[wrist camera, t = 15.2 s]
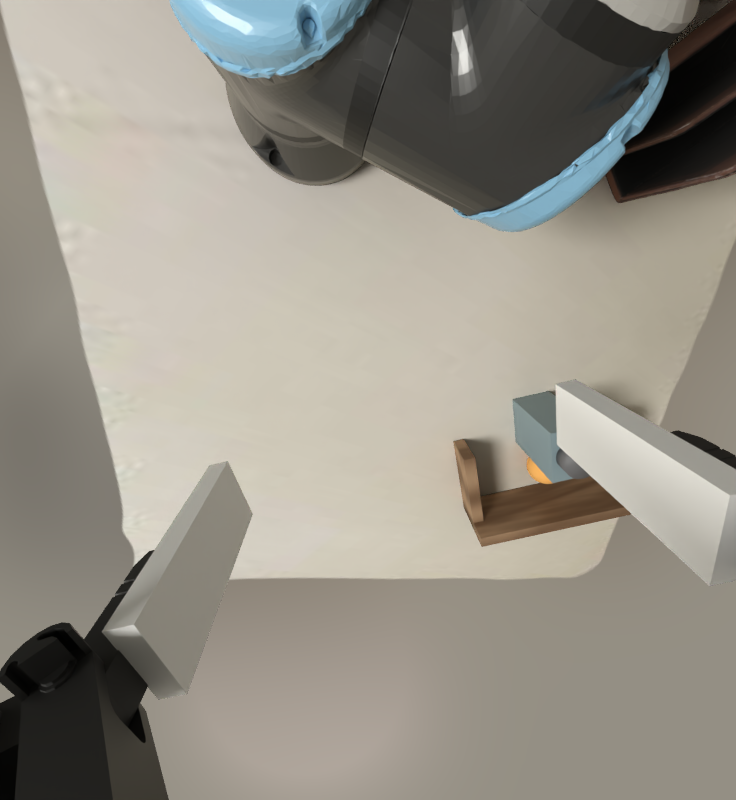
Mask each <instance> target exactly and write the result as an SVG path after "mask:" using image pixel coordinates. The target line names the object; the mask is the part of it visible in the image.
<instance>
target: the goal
mask: <svg viewBox="0 0 736 800" xmlns="http://www.w3.org/2000/svg"><path fill="white" fill-rule="evenodd" d="M454 448H455V454H456V460H457V466H458V473H459V479H460V485H461V492H462V498H463V504H464V509H465V511H466V513H467V515H468V517H469V520H470V522H471V524H472V526H473V529H474V531H475V533H476V535H477V537H478V540H479V542H480V544H481V546H482V547H483V546H487V545H492V544H497V543H501V542H506V541H511V540H515V539H520V538H524V537H529V536H534V535H538V534H543V533H547V532H552V531H557V530H561V529H566V528H570V527H575V526H580V525H584V524H589V523H593V522H598V521H603V520H607V519H612V518H616V517H621V516H625V515H630V514H631V513H630V512H629V511H628V510H627V509H626V508H625V507H624V506H623V505H621V504H620V503H619V502H618V501H617V500H616V499H615V498H614V497H613V496H612V495H611V494H610V493H609V492H607V491H606V490H605V489H604V488H603V487H602V486H601V485H600V484H599V483H598V482H597V481H596V480H594V479H593V478H592V477H591V476H589V477H587V478H584V479H569V480H565V481H560V482H556V483H552V484H543V483H539V484H534V485H530V486H525V487H521V488H516V489H512V490H507V491H503V492H498V493H494V494H489V495H485V496H480V490H479V482H478V475H477V468H476V460H475V457H474V455H473V453H472V452H471V450H470V449H469V447H468V445H467V444H466V442H465V440H464V439H462V440H457V441H454Z"/></svg>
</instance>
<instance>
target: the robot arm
mask: <svg viewBox="0 0 736 800" xmlns="http://www.w3.org/2000/svg"><path fill="white" fill-rule="evenodd" d="M169 1H170V4H171V7H172V9H173V11H174V13H175V16H176V17H177V19H178V21H179V22H180V24H181V26H182V28H183V29H184V30H185V31H186V32H187V33H188V35H189V37H190V38H191V40H192V41H193V42H195V43H196V44H197V46H198V48H199V49H200V51H201V52H203V53H204V54H205V55H206V56H207V57H208V59H209V60H210V61H211V63H212V64H213V65H214V67H215V68H216V69H217V71H218V72H219V74H220V75H221V76H222V78H223V79H224V80H225V82H226V90H227V95H228V100H229V103H230V107H231V110H232V113H233V116H234V118H235V121H236V123H237V125H238V127H239V129H240V131H241V133H242V135H243V137H244V138H245V140H246V141H247V143H248V144H249V146H250V147H251V148H252V150H253V151H254V152H255V153H256V154H257V155H258V157H259V158H260V159H261V160H262V161H263V162H264V163H265V164H266V165H267V166H268V167H270V168H271V169H272V170H273V171H275V172H276V173H278V174H279V175H281V176H283V177H284V178H286V179H289V180H291V181H293V182H297V183H300V184H305V185H315V186H316V185H327V184H331V183H334V182H337V181H340V180H342V179H344V178H346V177H348V176H349V175H351V174H352V173H353V172H355V171H356V170H357V169H358V168H359V167H360V166H361V165H362V164H363V163H364V162H365V161H367V162H369V163H371V164H372V165H374V166H376V167H378V168H380V169H382V170H384V171H386V172H387V173H389V174H391V175H393V176H395V177H397V178H399V179H400V180H402V181H404V182H406V183H408V184H410V185H412V186H414V187H415V188H417V189H419V190H421V191H423V192H425V193H427V194H429V195H430V196H432V197H434V198H436V199H438V200H440V201H442V202H444V203H445V204H447V205H449V206H451V207H453V210H454V211H455V212H456V213H457V214H458V215H460V216H461V217H463V218H469V219H471V220H477V221H479V222H481V223H484V224H486V225H488V226H490V227H492V228H494V229H497V230H499V231H507V232H519V231H523V230H527V229H531V228H533V227H536V226H538V225H540V224H542V223H544V222H546V221H548V220H550V219H552V218H553V217H555V216H556V215H558V214H560V213H561V212H562V211H564V210H565V209H567V208H568V207H569V206H571V205H572V204H573V203H575V202H576V201H577V200H578V199H580V198H581V197H582V196H583V195H584V194H586V193H587V192H588V191H589V190H590V189H591V188H592V187H593V186H594V185H595V184H597V183H598V182H599V181H600V180H601V179H602V178H603V177H604V176H605V175H606V174H607V173H608V171H609V170H610V169H611V168H612V167H613V166H614V165H615V164H616V163H617V161H618V160H619V159H620V158H621V157H622V156H623V154H624V153H625V146H624V145H625V143H626V142H628V141H629V140H630V139H631V138H632V137H634V136H635V135H637V134H638V133H640V132H641V131H642V130H643V128H644V127H645V125H646V124H647V122H648V121H649V119H650V118H651V116H652V114H653V113H654V111H655V109H656V108H657V105H658V103H659V101H660V99H661V97H662V95H663V92H664V89H665V87H666V84H667V82H668V78H669V70H670V63H669V59H668V50H667V48H668V47H669V46H670V45H671V43H672V42H673V41H674V40H675V39H676V38H677V37H678V36H679V35H680V34H681V32H682V31H683V30H684V29H685V28H686V27H687V26H688V25H689V23H690V22H691V21H692V20H693V19H694V17H695V15H696V14H697V9H698V5H699V1H700V0H169ZM556 428H557V445H558V446H559V447H560V448H561V449H562V450H563V451H564V452H565V453H566V454H567V455H568V456H570V457H571V458H572V459H573V460H574V461H575V462H576V463H577V464H578V465H579V466H580V467H581V468H583V469H584V470H585V471H586V472H587V473H588V474H589V475H590V476H591V477H592V478H593V479H594V480H596V481H597V482H598V483H599V484H600V485H601V486H602V487H603V488H604V489H605V490H606V491H607V492H609V493H610V494H611V495H612V496H613V497H614V498H615V499H616V500H617V501H618V502H619V503H620V504H621V505H623V506H624V507H625V508H626V509H627V510H628V511H629V512H630V513H631V514H632V515H633V516H635V517H636V518H637V519H638V520H639V521H640V522H641V523H642V524H643V525H644V526H645V527H646V528H647V529H649V530H650V531H651V532H652V533H653V534H654V535H655V536H656V537H657V538H658V539H659V540H660V541H662V542H663V543H664V544H665V545H666V546H667V547H668V548H669V549H670V550H671V551H672V552H674V553H675V554H676V555H677V556H678V557H679V558H680V559H681V560H682V561H683V562H684V563H685V564H686V565H688V566H689V567H690V568H691V569H692V570H693V571H694V572H695V573H696V574H697V575H698V576H699V577H700V578H702V579H703V580H704V581H705V582H706V583H707V584H708V585H709V586H713V585H718V584H723V583H727V582H733V581H736V457H735V455H733V454H731V453H730V452H728V451H726V450H724V449H722V450H721V449H720V448H719V447H718V446H716V445H714V444H713V443H711V442H709V441H707V440H705V439H703V438H701V437H698V436H695V435H691V434H688V433H685V432H681V431H673V432H668V431H667V430H665V429H663V428H661V427H659V426H658V425H656V424H654V423H652V422H651V421H649V420H647V419H645V418H643V417H642V416H640V415H638V414H636V413H634V412H633V411H631V410H629V409H627V408H626V407H624V406H622V405H620V404H618V403H617V402H615V401H613V400H611V399H610V398H608V397H606V396H604V395H602V394H601V393H599V392H597V391H595V390H594V389H592V388H590V387H588V386H586V385H585V384H583V383H581V382H579V381H577V380H576V379H575V380H571V381H566V382H562V383H558V384H556ZM251 517H252V512H251V510H250V507H249V505H248V503H247V501H246V499H245V497H244V495H243V493H242V490H241V488H240V486H239V484H238V482H237V480H236V478H235V476H234V474H233V471H232V469H231V467H230V465H229V463H228V461H227V462H223V463H218V464H214V465H210V466H209V467H208V469H207V470H206V472H205V473H204V475H203V476H202V478H201V479H200V481H199V482H198V484H197V486H196V487H195V489H194V490H193V492H192V493H191V495H190V496H189V498H188V499H187V501H186V502H185V504H184V506H183V507H182V509H181V510H180V512H179V513H178V515H177V516H176V518H175V519H174V521H173V523H172V524H171V526H170V527H169V529H168V530H167V532H166V533H165V535H164V536H163V538H162V539H161V541H160V543H159V544H158V546H157V547H156V549H155V550H152V551H149V552H148V553H147V554H146V555H145V556H144V557H143V558H142V559H141V560H140V561H139V562H138V563H137V564H136V565H135V566H134V567H133V568H132V570H131V571H130V573H129V574H128V576H127V577H126V579H125V580H124V584H122V585H121V586H120V587H119V589H118V590H117V592H116V593H115V597H113V598H112V599H111V601H110V602H109V604H108V605H107V606H106V608H105V610H104V611H103V612H102V614H101V616H100V617H99V618H98V620H97V621H96V623H95V624H94V626H93V627H92V629H91V630H90V631H89V633H88V634H87V636H86V637H85V639H83V638H82V637H81V636H80V635H79V633H78V632H77V631H76V630H75V629H74V628H73V626H72V625H71V624H70V623H59V624H55V625H52V626H50V627H48V628H46V629H44V630H43V631H41V632H39V633H37V634H36V635H35V636H33V637H32V638H30V639H29V640H28V641H26V642H25V643H24V644H23V645H22V646H21V647H20V648H19V649H18V650H17V651H15V652H14V653H13V654H12V655H11V656H10V658H9V659H8V660H7V662H6V663H5V665H4V666H3V667H2V668H1V671H0V683H1V684H2V685H4V686H5V687H6V688H7V689H8V690H9V691H10V692H11V693H13V694H14V695H15V696H14V697H12V698H10V699H8V700H6V701H4V702H2V703H0V800H169V799H168V795H167V792H166V788H165V783H164V779H163V776H162V772H161V768H160V764H159V760H158V756H157V752H156V748H155V744H154V741H153V737H152V733H151V729H150V725H149V721H148V717H147V713H146V711H145V709H144V708H143V706H142V705H141V704H140V702H141V700H142V698H143V695H144V693H145V691H146V689H147V687H148V688H149V689H150V690H151V691H152V692H153V694H155V696H156V697H157V698H158V700H160V699H165V698H170V697H175V696H180V695H185V694H187V693H188V690H189V687H190V684H191V682H192V679H193V676H194V674H195V671H196V668H197V665H198V663H199V660H200V657H201V654H202V652H203V649H204V646H205V643H206V641H207V638H208V635H209V632H210V630H211V627H212V624H213V622H214V619H215V616H216V613H217V611H218V608H219V605H220V602H221V599H222V597H223V594H224V591H225V589H226V586H227V583H228V580H229V578H230V575H231V572H232V569H233V567H234V564H235V561H236V558H237V556H238V553H239V550H240V547H241V545H242V542H243V539H244V536H245V534H246V531H247V528H248V525H249V523H250V520H251Z"/></svg>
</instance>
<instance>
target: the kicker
mask: <svg viewBox="0 0 736 800" xmlns="http://www.w3.org/2000/svg"><path fill="white" fill-rule="evenodd" d="M513 411H514V424H515V437H516V443H517V444H518V445H519V446H520V447H521V448H522V449H523V450H524V452H525V453H526V454H527V455H528V456H529V457H530V458H531V460H532V461H533V462H534V463H535V464H536V465H537V466H538V468H539V469H540V470H541V471H542V472H543V473H544V474H545V475H546V477H547V478H548V479H549V480H550V481H551V482H552V483H556V482H560V481H565V480H569V479H584V478H587V477H589V476H590V475H589V474H588V473H587V472H586V471H585V470H584V469H583V468H581V467H580V466H579V465H578V464H577V463H576V462H575V461H574V460H573V459H572V458H571V457H570V456H568V455H567V454H566V453H565V452H564V451H563V450H562V449H561V448H560V447H559V446H558V445H557V428H556V396H555V395H553V394H552V393H550V392H549V391H546V392H542V393H538V394H533V395H529V396H525V397H520V398H516V399H513Z"/></svg>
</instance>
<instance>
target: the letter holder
mask: <svg viewBox="0 0 736 800" xmlns="http://www.w3.org/2000/svg"><path fill="white" fill-rule="evenodd" d="M668 59H669V63H670V70H669V78H668V82H667V84H666V87H665V89H664V92H663V95H662V97H661V99H660V101H659V103H658V105H657V108H656V109H655V111H654V113H653V114H652V116H651V118H650V119H649V121H648V122H647V124H646V125H645V127H644V128H643V130H642V131H641V132H640V133H638V134H637V135H635V136H634V137H632V138H631V139H630V140H629V141H628V142H626V143H625V145H624V146H625V153H624V154H623V156H622V157H621V158H620V159H619V160H618V161H617V163H616V164H615V165H614V166H613V167H612V168H611V169H610V170H609V171H608V173H607V174H606V177H607V180H608V182H609V185H610V188H611V190H612V193H613V195H614V197H615V200H616V201H617V202H618V203H623V202H627V201H631V200H635V199H639V198H644V197H648V196H652V195H657V194H662V193H666V192H670V191H675V190H679V189H682V188H685V187H689V186H693V185H697V184H700V183H705V182H709V181H714V180H717V179H722V178H726V177H728V176H731V175H733V174H736V0H733V1H731V2H730V3H729V4H728V5H726V6H725V7H723V8H722V9H721V10H720V11H718V12H717V13H716V14H715V15H713V16H712V17H711V18H709V19H708V20H707V21H706V22H704V23H703V24H702V25H700V26H699V27H698V28H697V29H695V30H694V31H693V32H692V33H690V34H689V35H688V36H686V37H685V38H684V39H682V40H681V41H680V42H679V43H677V44H676V45H675V46H673V47H672V48H671V49H670V50H668Z"/></svg>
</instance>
